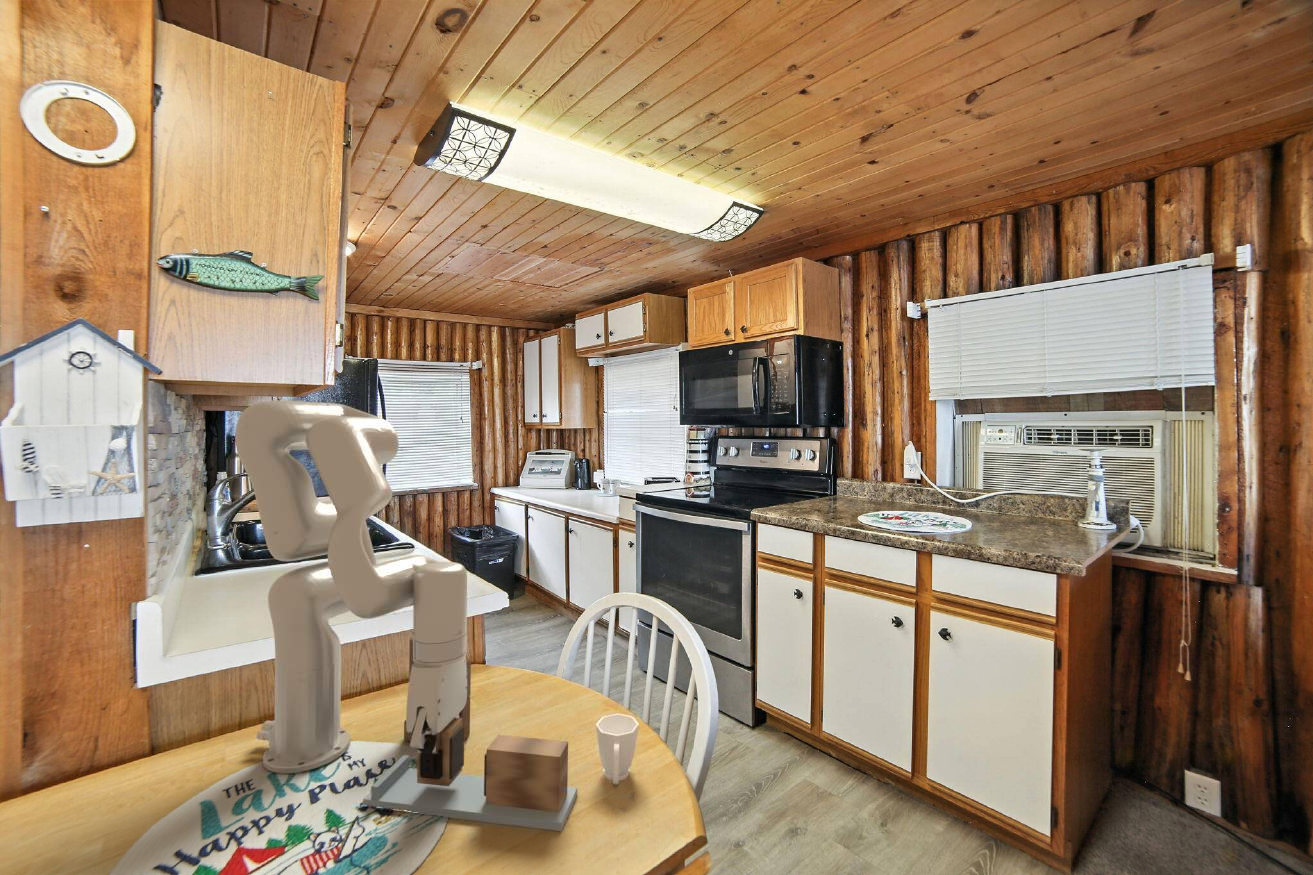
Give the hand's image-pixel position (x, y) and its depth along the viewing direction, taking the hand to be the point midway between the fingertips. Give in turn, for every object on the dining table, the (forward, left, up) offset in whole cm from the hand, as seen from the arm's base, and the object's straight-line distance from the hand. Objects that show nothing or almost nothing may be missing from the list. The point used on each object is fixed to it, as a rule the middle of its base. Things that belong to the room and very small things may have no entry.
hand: (439, 766), depth 85 cm
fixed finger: (+14, 0, -3) cm, 14 cm away
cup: (+25, +9, -5) cm, 27 cm away
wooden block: (-9, +15, -5) cm, 18 cm away
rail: (+5, 0, -5) cm, 7 cm away
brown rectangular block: (0, 0, -1) cm, 1 cm away
